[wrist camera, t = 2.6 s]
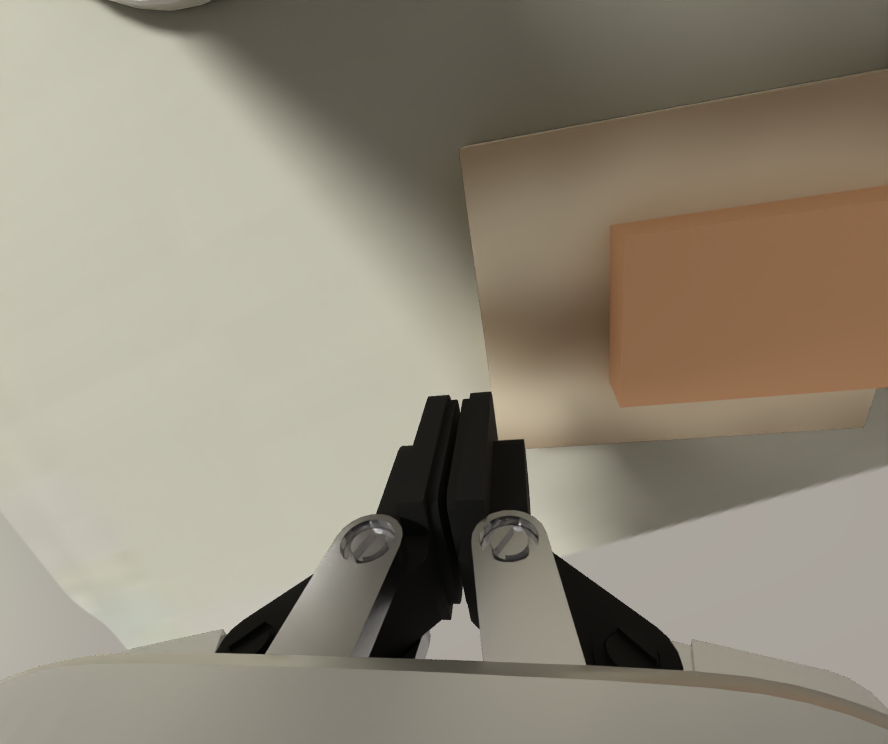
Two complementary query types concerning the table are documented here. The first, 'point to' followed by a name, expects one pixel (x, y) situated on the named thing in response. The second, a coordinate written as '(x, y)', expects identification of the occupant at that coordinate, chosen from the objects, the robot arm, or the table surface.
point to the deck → (635, 199)
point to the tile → (751, 301)
